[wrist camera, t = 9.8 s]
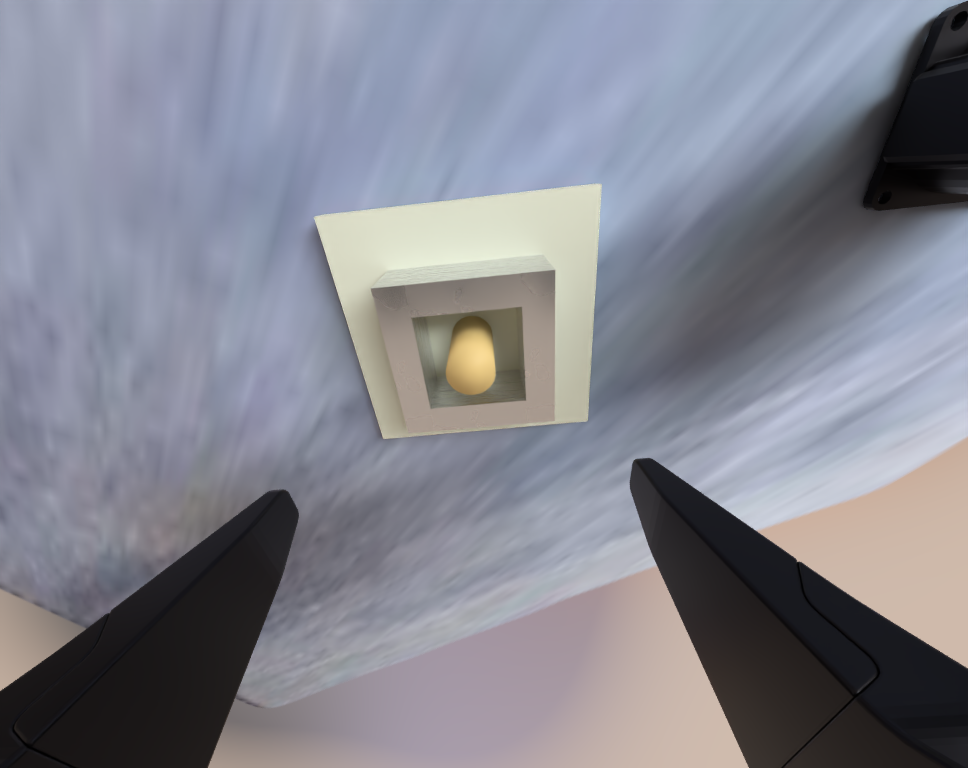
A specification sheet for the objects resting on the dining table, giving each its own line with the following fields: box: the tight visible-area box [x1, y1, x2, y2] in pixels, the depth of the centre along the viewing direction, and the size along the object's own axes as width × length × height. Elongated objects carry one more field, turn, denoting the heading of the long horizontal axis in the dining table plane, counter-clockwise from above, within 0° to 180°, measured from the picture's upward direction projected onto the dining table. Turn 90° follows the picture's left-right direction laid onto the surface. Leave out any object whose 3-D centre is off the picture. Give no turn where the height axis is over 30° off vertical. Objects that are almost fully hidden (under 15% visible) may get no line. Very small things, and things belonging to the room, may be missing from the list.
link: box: [371, 254, 555, 433], centre depth 16 cm, size 7×7×3 cm
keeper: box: [314, 184, 602, 439], centre depth 16 cm, size 12×12×5 cm
